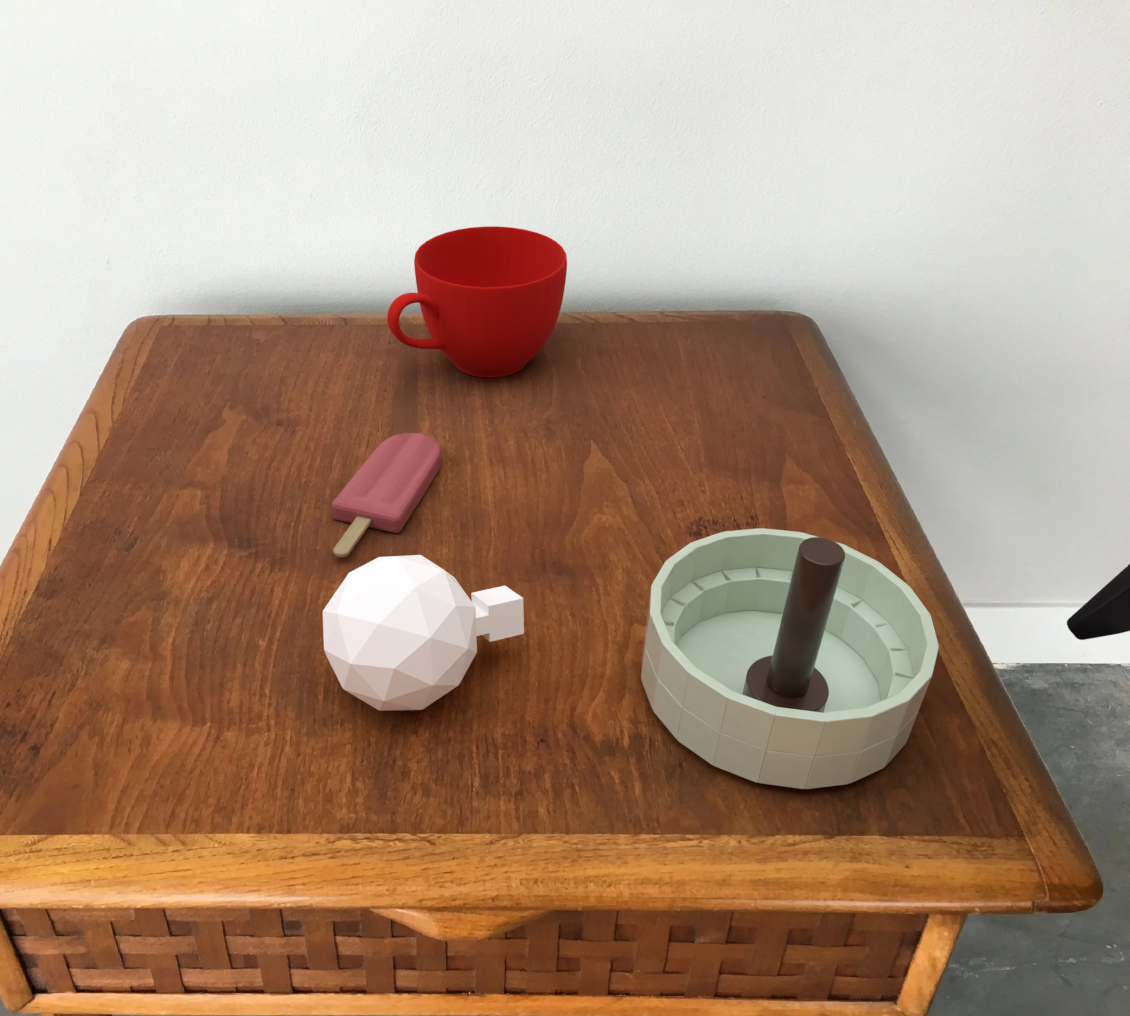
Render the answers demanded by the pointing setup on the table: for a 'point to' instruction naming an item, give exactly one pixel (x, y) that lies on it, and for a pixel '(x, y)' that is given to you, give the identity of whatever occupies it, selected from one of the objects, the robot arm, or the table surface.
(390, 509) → the popsicle
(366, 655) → the perfume bottle
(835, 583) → the pestle
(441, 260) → the ceramic cup
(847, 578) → the bowl
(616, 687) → the table surface
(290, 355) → the table surface
